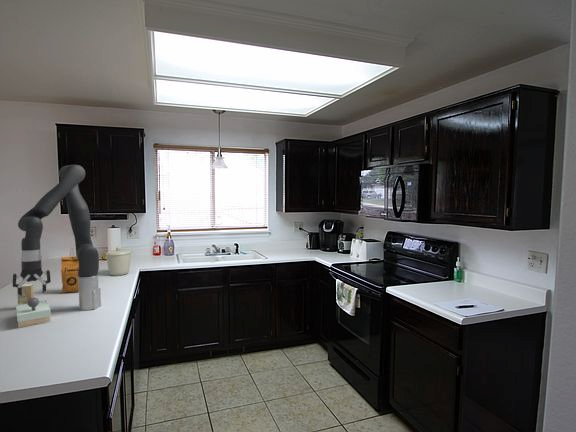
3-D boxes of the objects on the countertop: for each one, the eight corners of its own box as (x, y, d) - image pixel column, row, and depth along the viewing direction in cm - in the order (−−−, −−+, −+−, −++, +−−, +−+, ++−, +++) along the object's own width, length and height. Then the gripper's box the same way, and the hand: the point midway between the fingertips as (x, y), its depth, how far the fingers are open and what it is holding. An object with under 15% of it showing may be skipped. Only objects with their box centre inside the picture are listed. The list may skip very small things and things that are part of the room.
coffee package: (83, 292, 213) (81, 257, 211) (59, 294, 209) (58, 258, 207) (87, 288, 222) (85, 254, 221) (64, 290, 218) (63, 255, 217)
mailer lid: (16, 311, 170) (15, 293, 169) (47, 306, 178) (46, 288, 177) (17, 322, 155) (16, 302, 155) (50, 316, 163) (50, 297, 163)
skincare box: (17, 309, 181) (16, 286, 181) (20, 307, 185) (18, 284, 185) (32, 308, 184) (31, 285, 183) (34, 305, 188) (33, 283, 187)
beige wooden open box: (17, 317, 170) (16, 307, 170) (46, 311, 178) (46, 302, 178) (18, 327, 156) (17, 316, 156) (50, 321, 164) (49, 311, 164)
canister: (134, 275, 259) (133, 247, 258) (107, 278, 249) (106, 249, 247) (130, 270, 274) (129, 244, 273) (104, 273, 264) (103, 246, 262)
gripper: (49, 256, 168) (50, 289, 169) (11, 259, 159) (12, 294, 160) (50, 258, 162) (51, 293, 163) (11, 262, 153) (12, 298, 154)
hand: (32, 293), depth 162 cm, fingers open, 8 cm apart
